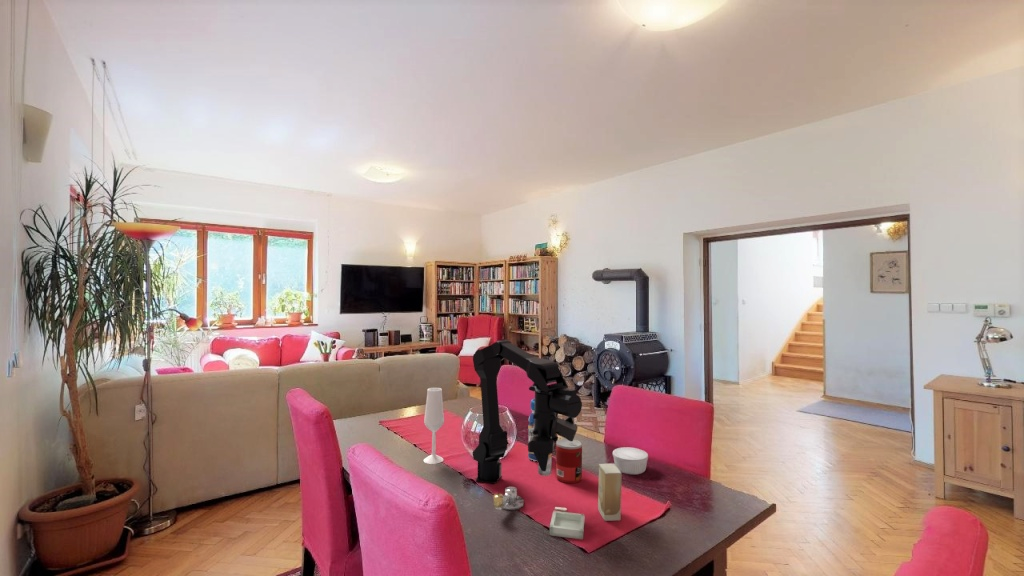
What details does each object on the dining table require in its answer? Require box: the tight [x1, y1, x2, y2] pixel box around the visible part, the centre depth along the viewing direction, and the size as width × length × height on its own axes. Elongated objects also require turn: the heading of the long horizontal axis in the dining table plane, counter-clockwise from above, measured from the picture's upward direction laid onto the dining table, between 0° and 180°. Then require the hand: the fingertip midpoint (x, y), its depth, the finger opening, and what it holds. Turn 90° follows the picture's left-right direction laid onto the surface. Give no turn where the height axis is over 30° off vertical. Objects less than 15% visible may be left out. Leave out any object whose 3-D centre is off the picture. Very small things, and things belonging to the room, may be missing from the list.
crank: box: [493, 486, 518, 511], centre depth 115 cm, size 11×3×5 cm, turn 158°
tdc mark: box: [554, 506, 568, 512], centre depth 115 cm, size 3×1×1 cm, turn 78°
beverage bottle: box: [527, 398, 538, 463], centre depth 151 cm, size 8×8×20 cm
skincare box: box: [597, 463, 623, 522], centre depth 113 cm, size 6×4×12 cm
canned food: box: [555, 438, 583, 484], centre depth 135 cm, size 8×8×11 cm
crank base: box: [502, 495, 525, 511], centre depth 118 cm, size 7×7×1 cm
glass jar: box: [537, 453, 553, 477], centre depth 116 cm, size 4×4×6 cm
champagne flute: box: [423, 387, 445, 465], centre depth 148 cm, size 7×7×24 cm
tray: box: [549, 510, 586, 540], centre depth 106 cm, size 8×8×2 cm
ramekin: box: [612, 446, 649, 476], centre depth 143 cm, size 11×11×5 cm
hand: (544, 468), depth 116 cm, fingers closed on glass jar, 3 cm apart
